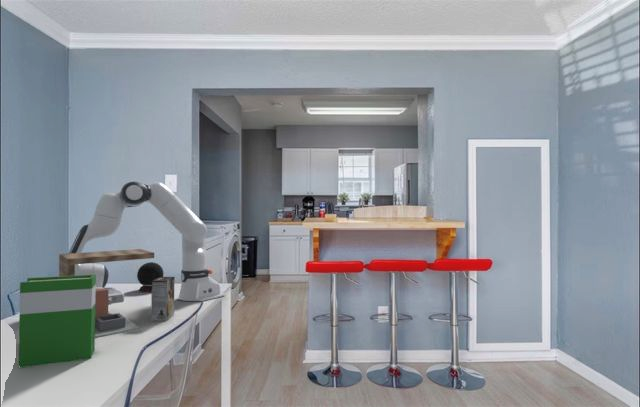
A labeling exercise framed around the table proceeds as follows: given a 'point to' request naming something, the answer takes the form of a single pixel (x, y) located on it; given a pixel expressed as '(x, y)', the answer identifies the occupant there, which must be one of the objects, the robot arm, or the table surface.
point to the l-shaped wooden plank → (98, 258)
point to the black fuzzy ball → (149, 275)
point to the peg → (101, 302)
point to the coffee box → (162, 299)
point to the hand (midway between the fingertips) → (101, 303)
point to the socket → (112, 325)
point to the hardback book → (56, 319)
